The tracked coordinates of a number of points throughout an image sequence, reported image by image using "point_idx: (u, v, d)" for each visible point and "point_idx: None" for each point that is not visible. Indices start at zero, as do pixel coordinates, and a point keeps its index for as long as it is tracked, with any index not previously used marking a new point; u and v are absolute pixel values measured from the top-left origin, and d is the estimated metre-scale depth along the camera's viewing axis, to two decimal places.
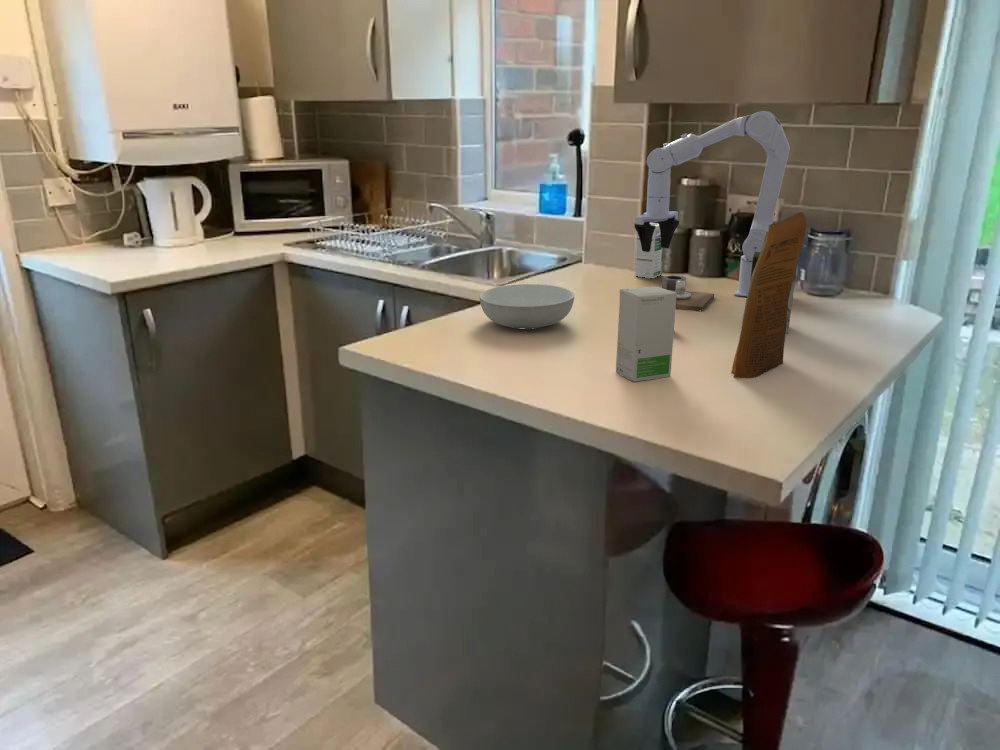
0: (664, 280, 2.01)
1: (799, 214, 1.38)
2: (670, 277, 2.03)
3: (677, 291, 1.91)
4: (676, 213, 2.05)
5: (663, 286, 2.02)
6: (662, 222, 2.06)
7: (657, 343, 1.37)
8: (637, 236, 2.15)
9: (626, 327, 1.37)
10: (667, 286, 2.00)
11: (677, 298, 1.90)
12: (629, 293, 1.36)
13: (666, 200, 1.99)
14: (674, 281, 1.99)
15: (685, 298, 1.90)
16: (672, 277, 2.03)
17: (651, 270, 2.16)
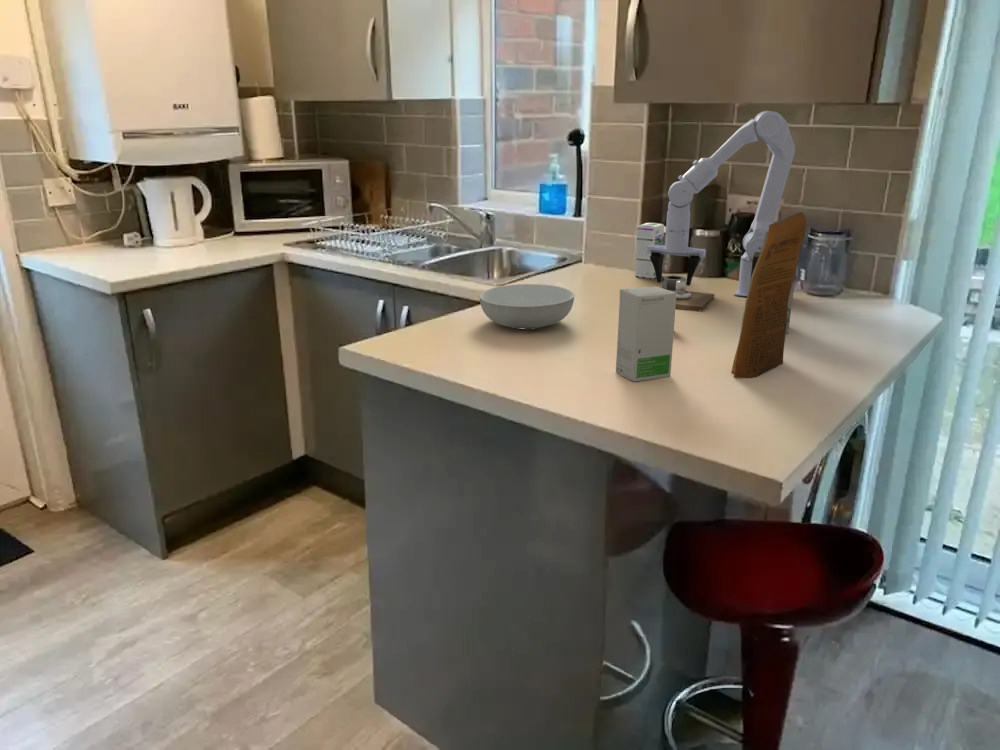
0: (664, 280, 2.01)
1: (799, 214, 1.38)
2: (670, 277, 2.03)
3: (677, 291, 1.91)
4: (700, 251, 1.95)
5: (663, 286, 2.02)
6: None
7: (657, 343, 1.37)
8: (637, 236, 2.15)
9: (626, 327, 1.37)
10: (667, 286, 2.00)
11: (677, 298, 1.90)
12: (629, 293, 1.36)
13: (674, 235, 1.95)
14: (674, 281, 1.99)
15: (685, 298, 1.90)
16: (672, 277, 2.03)
17: (651, 270, 2.16)
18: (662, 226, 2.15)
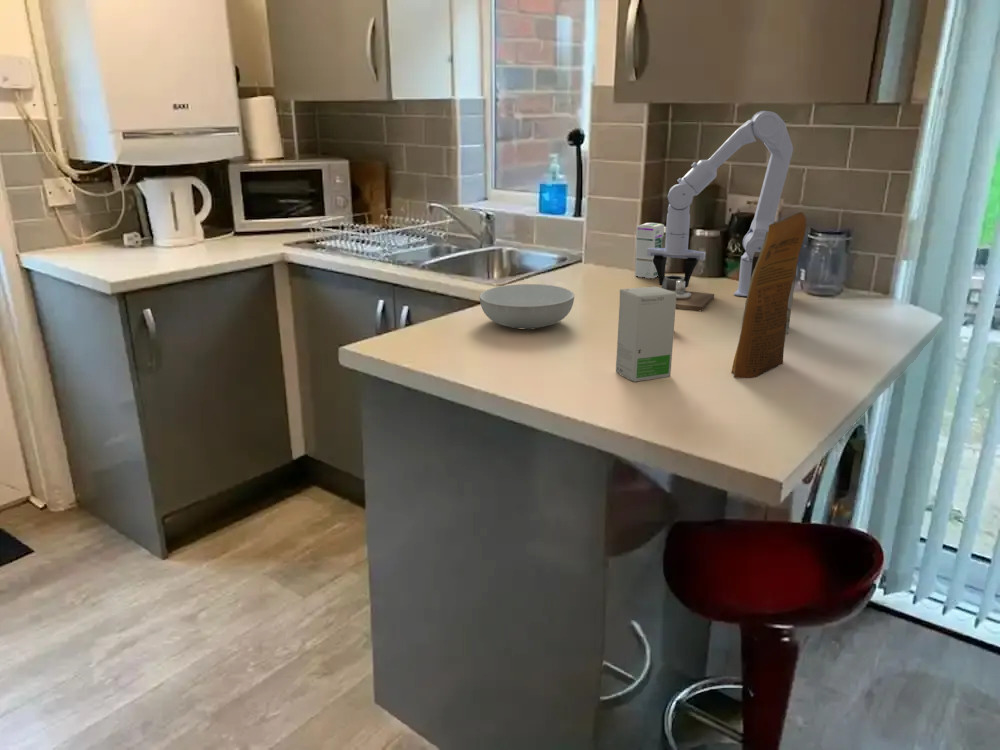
0: (664, 280, 2.01)
1: (799, 214, 1.38)
2: (670, 277, 2.03)
3: (677, 291, 1.91)
4: (700, 254, 1.96)
5: (663, 286, 2.02)
6: None
7: (657, 343, 1.37)
8: (637, 236, 2.15)
9: (626, 327, 1.37)
10: (667, 286, 2.00)
11: (677, 298, 1.90)
12: (629, 293, 1.36)
13: (674, 237, 1.95)
14: (674, 281, 1.99)
15: (685, 298, 1.90)
16: (672, 277, 2.03)
17: (651, 270, 2.16)
18: (662, 226, 2.15)
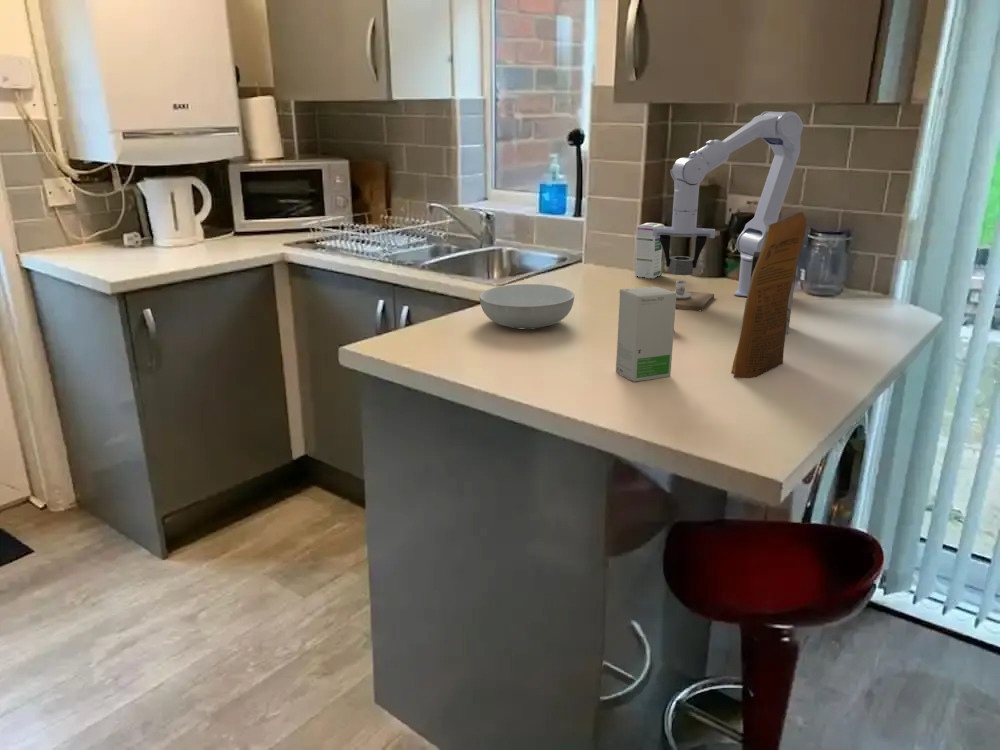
0: (672, 261, 1.89)
1: (799, 214, 1.38)
2: (676, 258, 1.91)
3: (677, 291, 1.91)
4: (711, 231, 1.85)
5: (671, 268, 1.89)
6: None
7: (657, 343, 1.37)
8: (637, 236, 2.15)
9: (626, 327, 1.37)
10: (676, 267, 1.88)
11: (677, 298, 1.90)
12: (629, 293, 1.36)
13: (684, 214, 1.83)
14: (684, 262, 1.87)
15: (685, 298, 1.90)
16: (678, 258, 1.92)
17: (651, 270, 2.16)
18: (662, 226, 2.15)
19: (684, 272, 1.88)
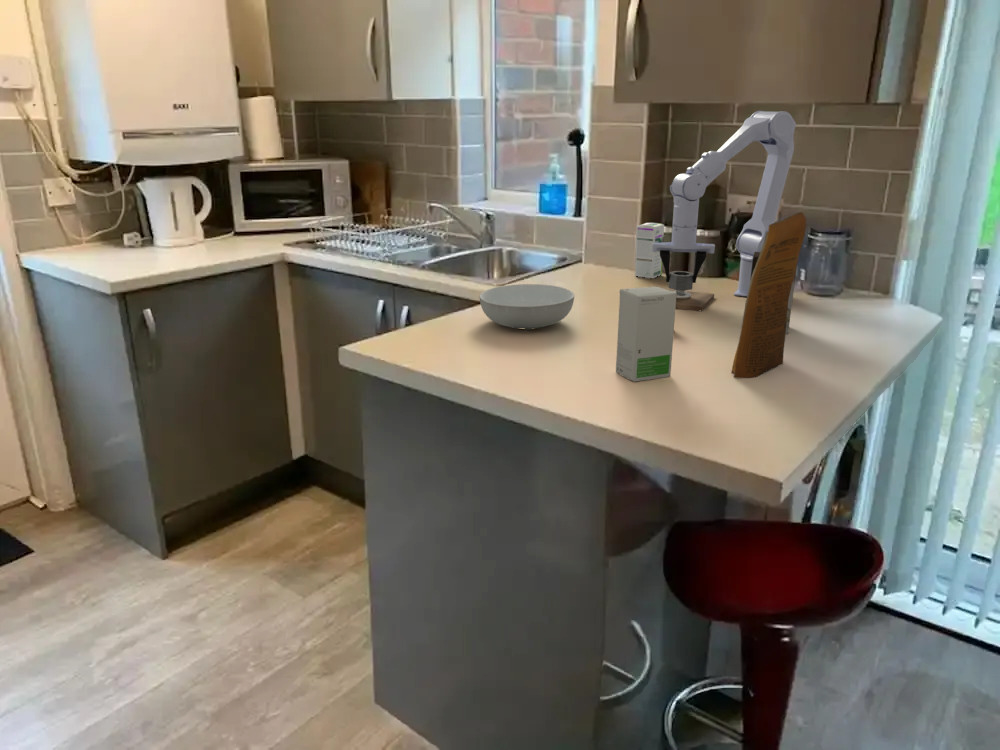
0: (672, 276, 1.89)
1: (799, 214, 1.38)
2: (675, 273, 1.92)
3: (677, 291, 1.91)
4: (711, 247, 1.86)
5: (671, 283, 1.90)
6: None
7: (657, 343, 1.37)
8: (637, 236, 2.15)
9: (626, 327, 1.37)
10: (677, 283, 1.88)
11: (677, 298, 1.90)
12: (629, 293, 1.36)
13: (684, 230, 1.84)
14: (684, 277, 1.88)
15: (685, 298, 1.90)
16: (677, 273, 1.92)
17: (651, 270, 2.16)
18: (662, 226, 2.15)
19: (684, 287, 1.88)
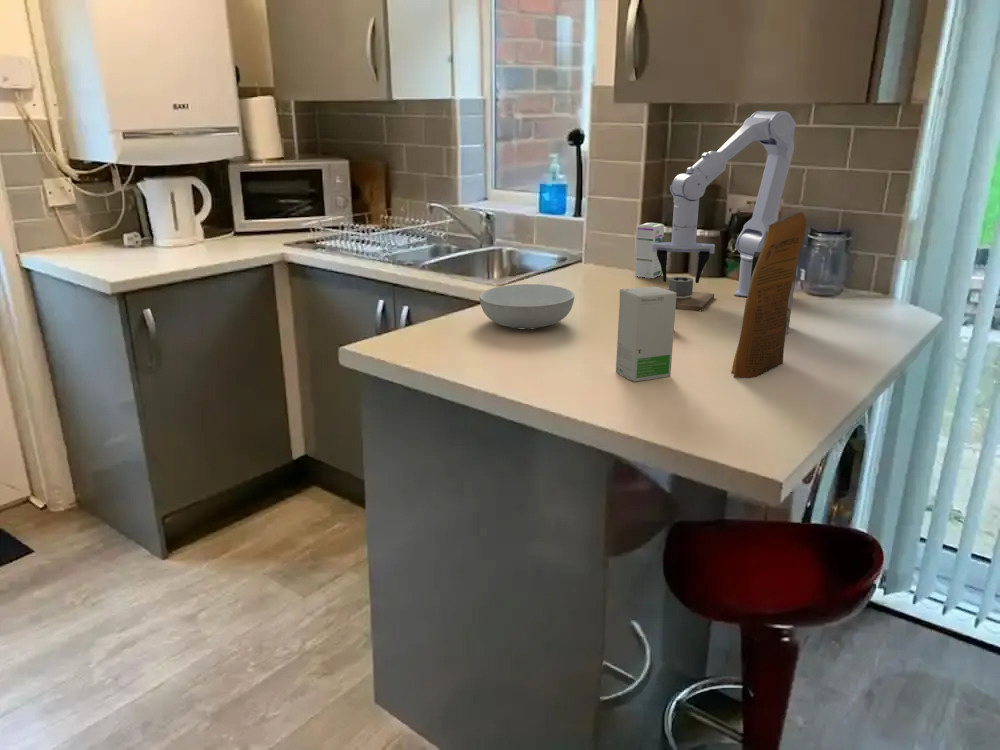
0: (672, 282, 1.89)
1: (799, 214, 1.38)
2: (675, 279, 1.92)
3: None
4: (711, 247, 1.86)
5: (671, 289, 1.90)
6: (698, 254, 1.89)
7: (657, 343, 1.37)
8: (637, 236, 2.15)
9: (626, 327, 1.37)
10: (676, 288, 1.89)
11: (677, 298, 1.90)
12: (629, 293, 1.36)
13: (684, 230, 1.84)
14: (684, 283, 1.88)
15: (685, 298, 1.90)
16: (677, 279, 1.92)
17: (651, 270, 2.16)
18: (662, 226, 2.15)
19: (684, 293, 1.89)
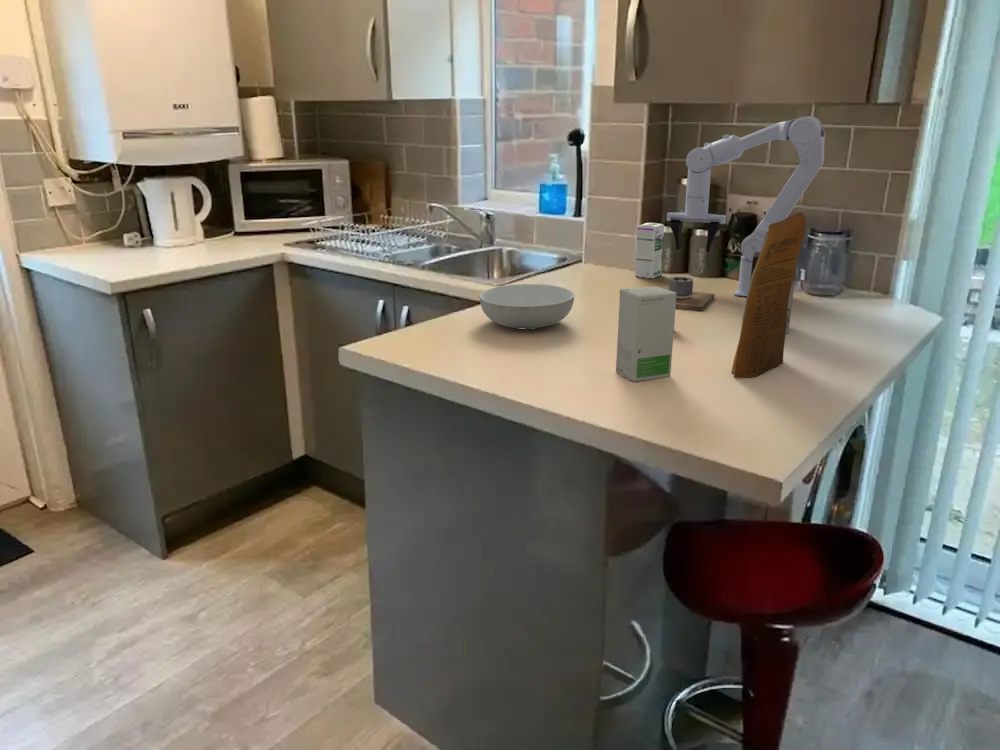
0: (672, 282, 1.89)
1: (799, 214, 1.38)
2: (675, 279, 1.92)
3: None
4: (720, 217, 1.96)
5: (671, 289, 1.90)
6: None
7: (657, 343, 1.37)
8: (637, 236, 2.15)
9: (626, 327, 1.37)
10: (676, 288, 1.89)
11: (677, 298, 1.90)
12: (629, 293, 1.36)
13: (694, 200, 1.96)
14: (684, 283, 1.88)
15: (685, 298, 1.90)
16: (677, 279, 1.92)
17: (651, 270, 2.16)
18: (662, 226, 2.15)
19: (684, 293, 1.89)
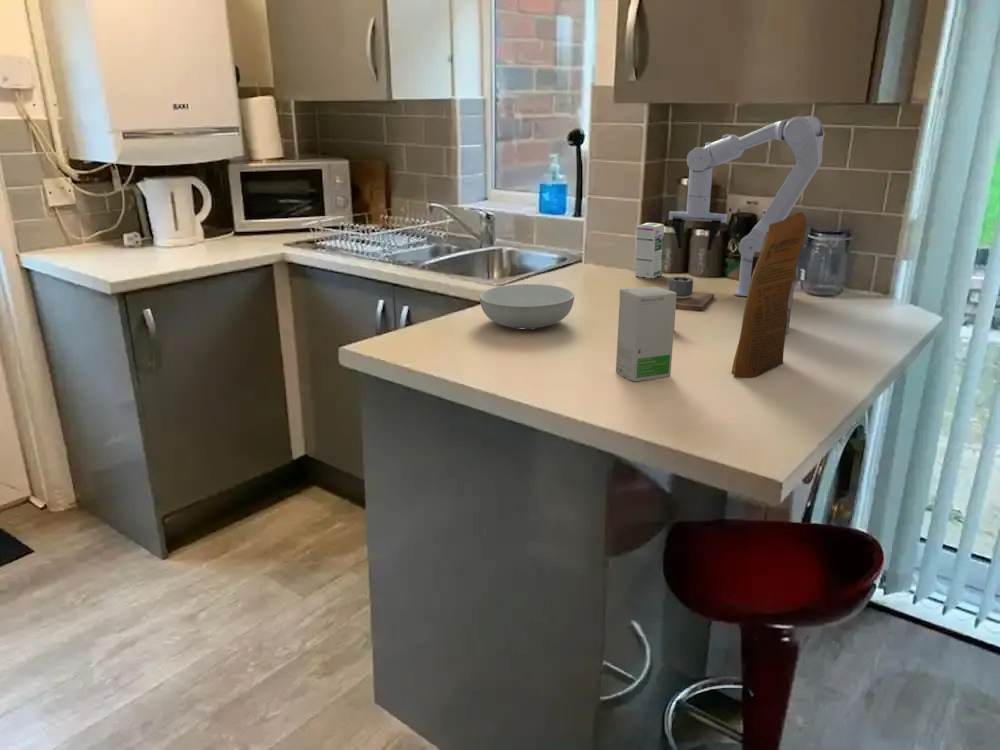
0: (672, 282, 1.89)
1: (799, 214, 1.38)
2: (675, 279, 1.92)
3: None
4: (722, 216, 1.98)
5: (671, 289, 1.90)
6: None
7: (657, 343, 1.37)
8: (637, 236, 2.15)
9: (626, 327, 1.37)
10: (676, 288, 1.89)
11: (677, 298, 1.90)
12: (629, 293, 1.36)
13: (696, 199, 1.98)
14: (684, 283, 1.88)
15: (685, 298, 1.90)
16: (677, 279, 1.92)
17: (651, 270, 2.16)
18: (662, 226, 2.15)
19: (684, 293, 1.89)
